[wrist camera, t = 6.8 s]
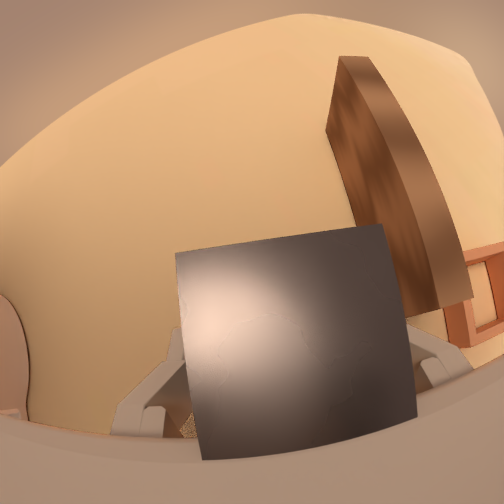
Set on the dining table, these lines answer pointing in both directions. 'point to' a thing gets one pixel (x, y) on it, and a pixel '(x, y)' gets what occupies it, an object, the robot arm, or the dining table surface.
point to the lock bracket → (461, 314)
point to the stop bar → (294, 342)
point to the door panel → (395, 188)
